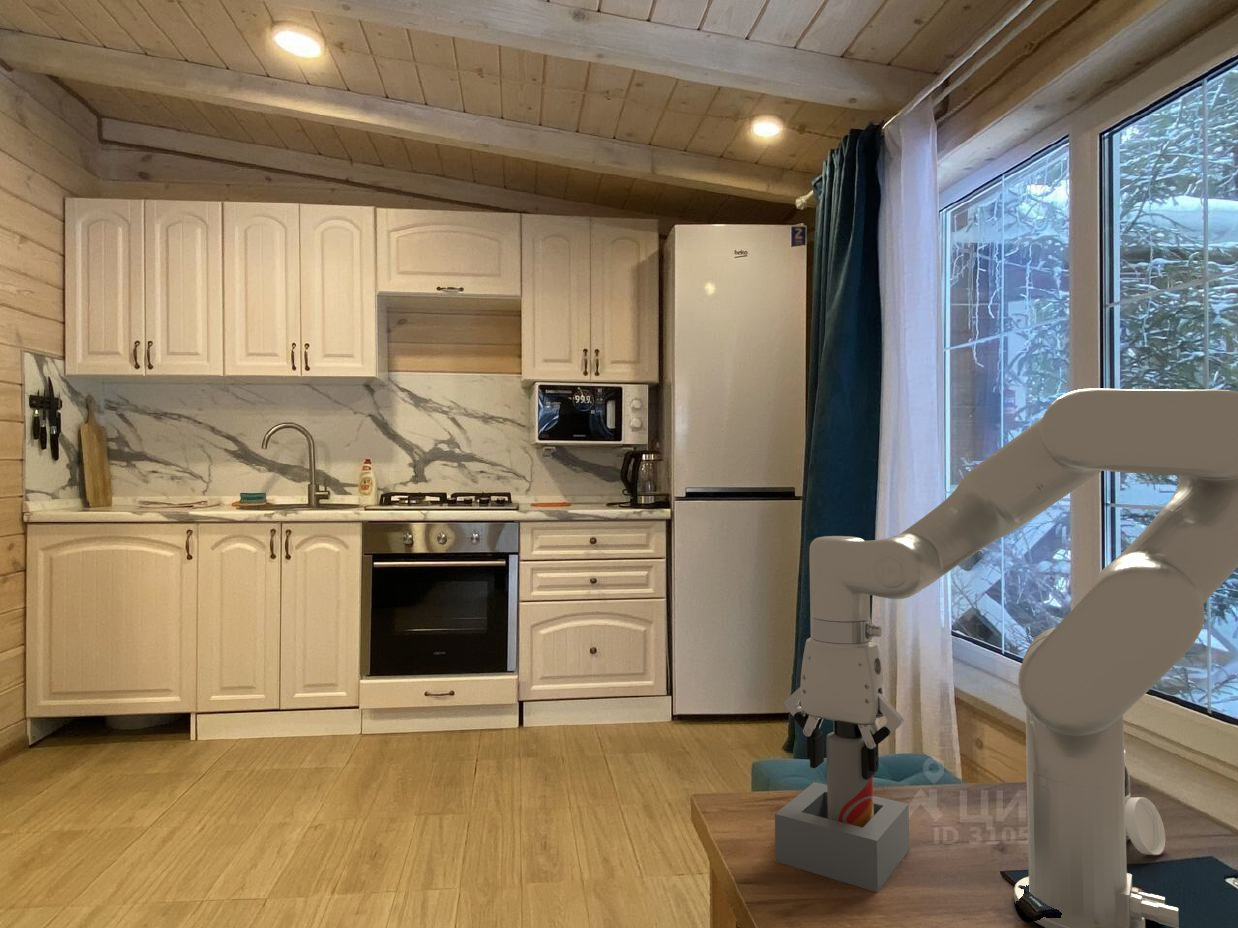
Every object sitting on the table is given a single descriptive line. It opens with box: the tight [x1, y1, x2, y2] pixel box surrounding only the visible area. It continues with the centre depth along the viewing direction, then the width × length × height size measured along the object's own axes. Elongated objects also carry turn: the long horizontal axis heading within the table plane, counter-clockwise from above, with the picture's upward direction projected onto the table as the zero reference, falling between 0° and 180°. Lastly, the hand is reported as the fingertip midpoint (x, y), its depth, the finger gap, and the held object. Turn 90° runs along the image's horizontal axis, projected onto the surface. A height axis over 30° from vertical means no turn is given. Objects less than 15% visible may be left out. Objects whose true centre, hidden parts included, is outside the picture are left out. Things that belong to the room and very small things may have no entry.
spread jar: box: [1124, 749, 1166, 856], centre depth 105 cm, size 12×11×12 cm
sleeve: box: [774, 781, 910, 893], centre depth 100 cm, size 13×13×6 cm
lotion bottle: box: [825, 720, 874, 828], centre depth 101 cm, size 6×6×20 cm
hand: (842, 769), depth 101 cm, fingers open, 6 cm apart
